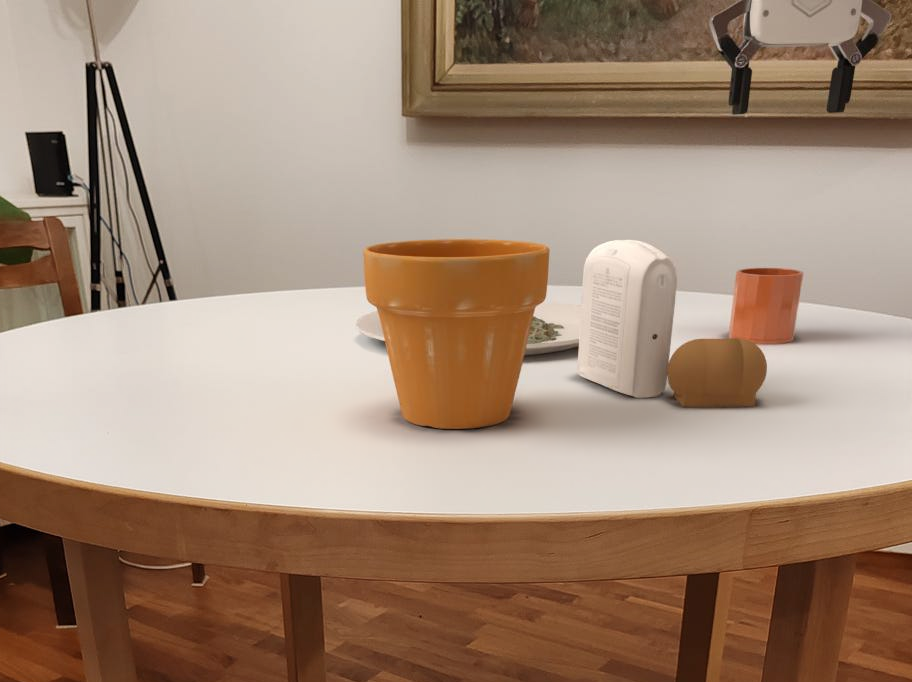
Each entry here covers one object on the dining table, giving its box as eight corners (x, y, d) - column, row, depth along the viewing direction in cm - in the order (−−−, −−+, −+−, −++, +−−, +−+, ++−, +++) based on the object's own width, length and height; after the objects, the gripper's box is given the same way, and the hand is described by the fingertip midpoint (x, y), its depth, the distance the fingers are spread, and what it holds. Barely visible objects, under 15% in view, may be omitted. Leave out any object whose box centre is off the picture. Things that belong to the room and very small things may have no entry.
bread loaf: (752, 393, 86) (761, 332, 84) (770, 408, 82) (779, 344, 79) (659, 394, 86) (664, 333, 84) (671, 409, 82) (677, 345, 79)
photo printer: (673, 395, 86) (688, 244, 80) (631, 401, 84) (644, 247, 79) (609, 373, 94) (619, 234, 89) (570, 377, 93) (577, 236, 87)
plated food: (655, 324, 117) (657, 294, 116) (566, 375, 94) (567, 338, 92) (432, 309, 130) (432, 282, 128) (304, 350, 106) (302, 318, 105)
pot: (782, 332, 112) (791, 267, 108) (801, 344, 106) (812, 275, 102) (722, 333, 112) (729, 268, 108) (737, 345, 106) (746, 276, 102)
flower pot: (426, 389, 89) (424, 235, 83) (570, 407, 83) (579, 241, 77) (335, 425, 79) (325, 252, 73) (492, 449, 72) (495, 261, 66)
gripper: (732, -103, 88) (710, 114, 96) (926, -107, 88) (888, 111, 96) (711, -86, 94) (692, 115, 102) (891, -90, 94) (858, 112, 102)
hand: (787, 113), depth 99 cm, fingers open, 9 cm apart
